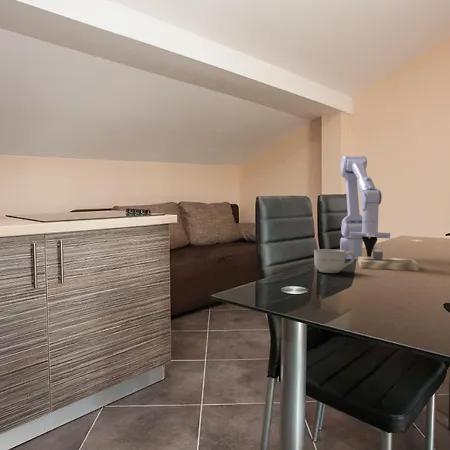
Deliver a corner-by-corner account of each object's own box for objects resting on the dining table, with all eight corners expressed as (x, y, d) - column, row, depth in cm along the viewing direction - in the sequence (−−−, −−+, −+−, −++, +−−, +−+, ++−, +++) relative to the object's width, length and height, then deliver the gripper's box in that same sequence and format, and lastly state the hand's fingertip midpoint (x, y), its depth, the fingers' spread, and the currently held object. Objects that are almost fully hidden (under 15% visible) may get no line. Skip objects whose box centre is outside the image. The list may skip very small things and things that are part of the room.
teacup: (309, 273, 141) (310, 250, 140) (318, 268, 150) (318, 247, 149) (350, 277, 134) (351, 253, 133) (356, 271, 144) (357, 249, 143)
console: (360, 268, 150) (360, 261, 150) (357, 262, 162) (358, 256, 162) (418, 270, 146) (418, 263, 145) (411, 265, 157) (411, 258, 157)
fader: (374, 259, 153) (374, 248, 152) (372, 257, 157) (373, 247, 156) (382, 260, 152) (382, 248, 152) (380, 258, 156) (381, 247, 156)
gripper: (350, 221, 152) (350, 257, 153) (392, 222, 148) (390, 258, 149) (349, 220, 159) (348, 254, 160) (389, 221, 155) (387, 256, 156)
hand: (369, 256), depth 155 cm, fingers closed
